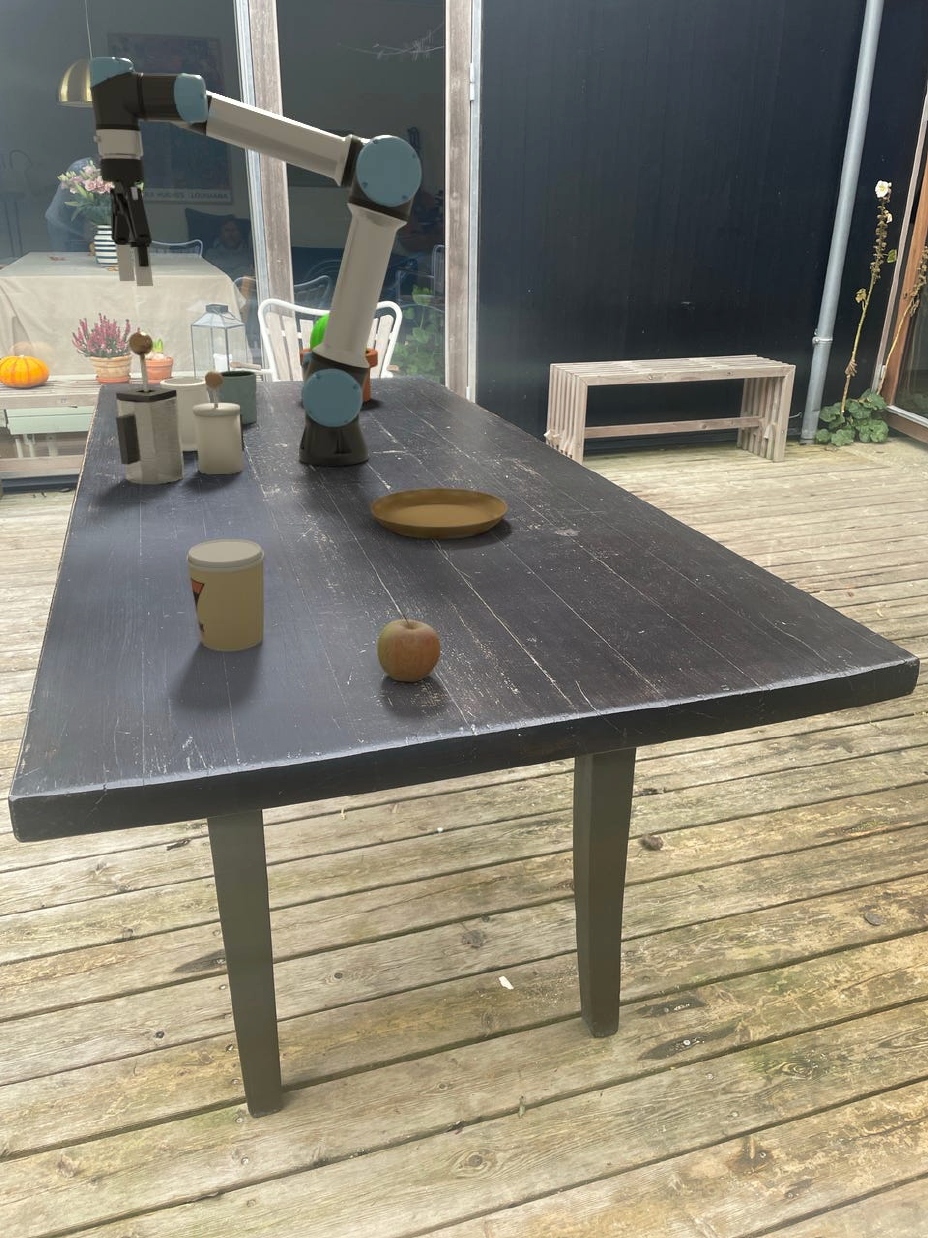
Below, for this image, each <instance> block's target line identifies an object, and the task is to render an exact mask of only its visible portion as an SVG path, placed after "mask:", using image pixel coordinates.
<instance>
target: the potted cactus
mask: <svg viewBox="0 0 928 1238" xmlns="http://www.w3.org/2000/svg"><path fill="white" fill-rule="evenodd" d="M320 315H321V314H320ZM328 316H329V312H327V313H325V314H322V315H321V316H320V317H319V318H318V320H317V321H316V323H315V324H314V326H313V327H312V329H311V331H310V332H309V333H310V336H309V337H310V338H309V340H308V342H309V347H308V348H304V349H301V350H300V351H299V365H300V366H301V367H302V363H303V355H304V353H306V352H312V349H313V348H314V347H316V346H317V345H319V344H321V342H322V341H323V337H324V333H325V329H326V324H327V320H328ZM378 357H379V352H378V351H377V350H376V349H374V348H369V347H368V346H367V347H366V351H365V358H366V359H367V361H368V363H369V365H370V366H369V370H368V374H367V377H366V381H365V385H364V389H363V393H362V395H363V398H362V399H363V403H367V402H368V401H370V399H371V369H372V368H376V367H377V366H378V365H379V358H378ZM363 403H362V404H363Z"/></svg>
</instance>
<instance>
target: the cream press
mask: <svg viewBox="0 0 928 1238" xmlns="http://www.w3.org/2000/svg"><path fill="white" fill-rule="evenodd" d="M204 379H205V383H206V385H207V387H208V388H210V389H212V394H213V395H212V396H213V402H210V403H207V404H200V405H196V406H194V407H193V414H194V418H195V428H196V439H197V449H198V451H197V458H198V468H199V469H198V470H199V473H201V472H203V473H202V474H204V473H206V474H205V475H210V474H227V475H232V474H231V473H234V474H237V473H236V472H238V473H240V472H242V471H244V457H243V456H244V455H243V452H245V442H244V431H243V430H244V429H243V424H242V414H241V413H240V406H239V405H237V404H232V403H220V402H219V397H218V388H219V387H221V385H222V384H223V377H222V375H221V374H220V373H219V371H218V370H210V371H208V372H207V373H206V374H205V377H204Z"/></svg>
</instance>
